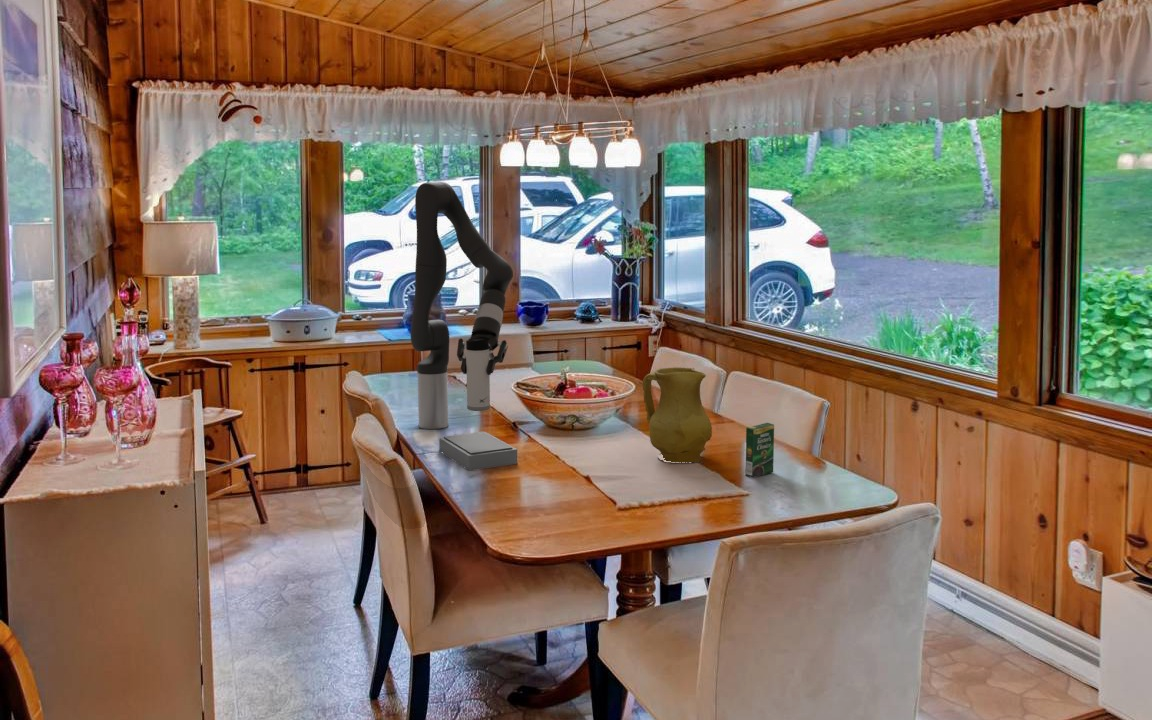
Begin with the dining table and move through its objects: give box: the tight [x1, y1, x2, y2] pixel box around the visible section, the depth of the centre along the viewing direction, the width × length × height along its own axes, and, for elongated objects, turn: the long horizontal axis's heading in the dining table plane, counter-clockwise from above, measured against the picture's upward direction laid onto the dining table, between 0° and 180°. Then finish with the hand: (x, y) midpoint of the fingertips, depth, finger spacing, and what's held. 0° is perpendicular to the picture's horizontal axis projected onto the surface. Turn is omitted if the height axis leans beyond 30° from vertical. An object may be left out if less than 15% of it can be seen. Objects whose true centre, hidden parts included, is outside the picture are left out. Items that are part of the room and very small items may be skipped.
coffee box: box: [744, 422, 775, 479], centre depth 255 cm, size 8×3×13 cm, turn 126°
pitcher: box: [642, 366, 713, 464], centre depth 271 cm, size 17×19×25 cm
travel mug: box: [465, 337, 491, 412], centre depth 269 cm, size 6×7×20 cm
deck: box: [438, 431, 518, 472], centre depth 272 cm, size 22×14×4 cm, turn 28°
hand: (476, 372), depth 267 cm, fingers closed on travel mug, 6 cm apart
